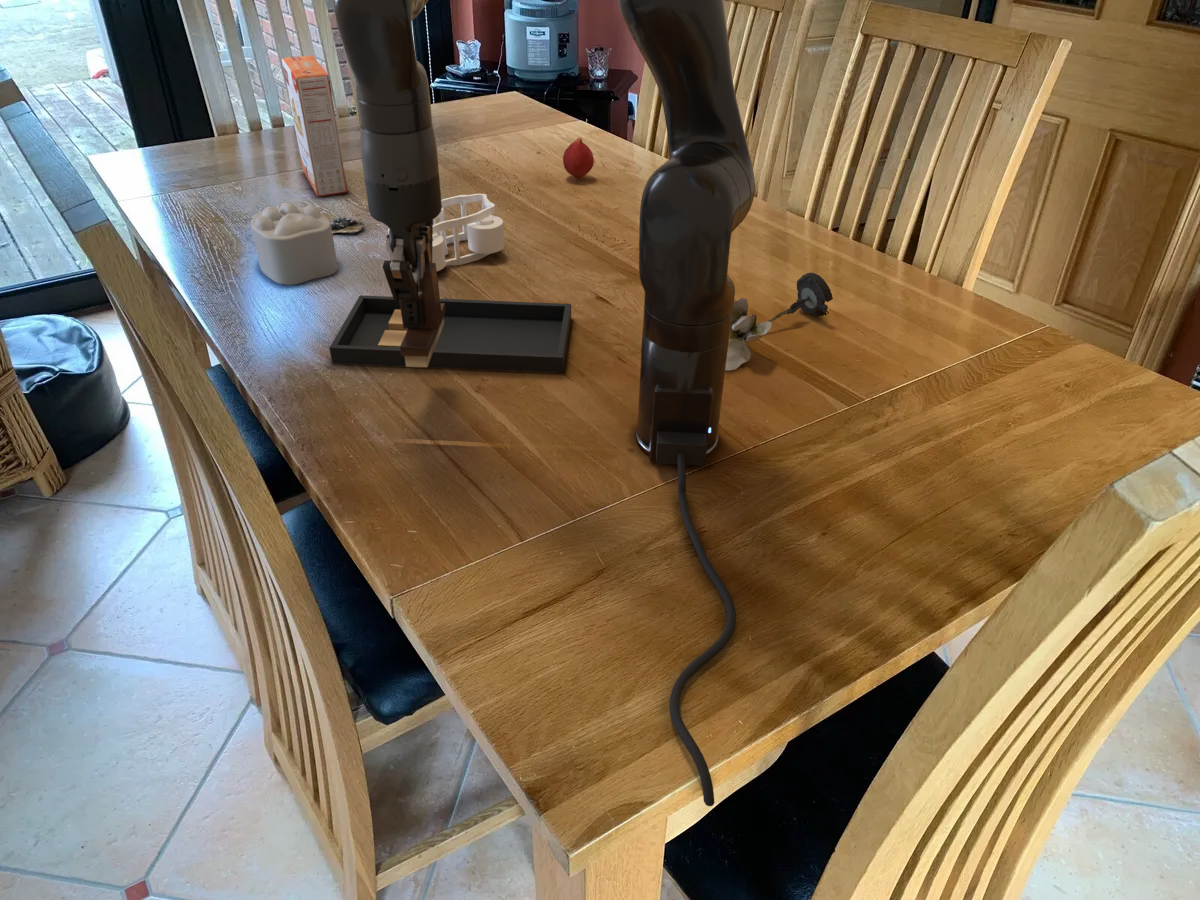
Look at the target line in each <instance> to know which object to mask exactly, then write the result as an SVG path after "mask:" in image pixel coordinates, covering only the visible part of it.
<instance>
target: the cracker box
mask: <svg viewBox="0 0 1200 900" xmlns="http://www.w3.org/2000/svg"><path fill="white" fill-rule="evenodd" d="M281 64H282V68H283V73H284V77H285V83H286V87H287V93H288V98H289V104H290V109H291V114H292V119H293V124H294V129H295V134H296V140H297V145H298V152H299V155H300V160H301V161H300V162H301V166H302V170H303V173H304V174H305V177H306V178H307V180H308V182H309V184H310V185H311V187H312V189H313V191H314V193H315V195H316V196H317V197H318V198H320V197H328V196H334V195H341V194H347V193H349V191H348V184H347V178H346V172H345V167H344V161H343V155H342V149H341V142H340V136H339V135H340V134H339V130H338V129H339V128H338V124H337V117H336V111H335V104H334V97H333V92H332V86H331V80H330V75H329V73H328V72H327V71H326V70H325V69H324V67H323V66H322V65H321V64H320V62H319V61H318V60H317V58H315V56H314V55H313V54H312V55H303V56H301V55H299V56H286V57H282V58H281Z"/></svg>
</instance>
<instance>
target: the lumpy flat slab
mask: <svg viewBox="0 0 1200 900" xmlns="http://www.w3.org/2000/svg"><path fill="white" fill-rule="evenodd" d="M330 223H331V229H332V234H336V233H347V234H355V233H358V232H359V231H362V230H363V228H364V227H366V224H365V223H364V221H363V218H352V217H351V218H350V217H341V216H340V217H337V218H335V219H333V220H332V221H330Z"/></svg>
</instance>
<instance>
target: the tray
mask: <svg viewBox="0 0 1200 900" xmlns="http://www.w3.org/2000/svg"><path fill="white" fill-rule="evenodd" d="M440 303H445V310H446V312H445V315H444V326H443V328H442V331H441V334H440V336H439V339H438V341H437V344H436V346H435V349H434V351H433V354H432V357H431V359H430V362H429V364H428V367H427V368H441V369H465V370H486V371H490V370H491V371H509V372H510V371H511V372H535V373H559V374H563V373H564V368H565V361H566V356H567V348H568V341H569V336H570V329H571V322H572V304H571V303H557V302H532V301H507V300H485V299H482V300H481V299H461V298H460V299H457V298H440ZM395 309H397V310H401V309H400V302H399V300H394V298H393V296H387V295H386V296H383V295H363V294H362V295H359V296H358V298H357V299H356V301H355V303H354V304H353V306H352V308H351V309H350V311H349V313H348V315H347V317H346V318H345V320H344V322H342V323H343V324H342V325H341V327H340V329H339V331H338V332H337V334H336V335H335V337H334V339H333V341H332V342H331V344H330V345H329V347H328V348H329V353H330V359H331V363H332V364H347V365H349V364H350V365H373V366H391V367H393V366H394V367H395V366H396V367H406V363H405V356H401V351H400V348H398V347H378V344H379V342H380V340H381V338H382V336H383V334H384V331H385V330H389V325H388V323H389V321H390V319H391V317H392V315H393V313H394V311H395Z"/></svg>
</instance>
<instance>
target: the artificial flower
mask: <svg viewBox="0 0 1200 900" xmlns="http://www.w3.org/2000/svg"><path fill="white" fill-rule="evenodd" d="M796 291H797V294H796V295H797V299H796V301H795V302H794V303H792V304H791V305H789V308H788V309H786V310H783V311H781V312H779V313H778V314H776V315H775V316H774V317H772V318H771V319H768V320H766V321H762V322H760V323H757V315H756V314H750V315H748V310H749V303H748V298H745V297H741V298H739V299H737V300H734V304H733V311H732V319H731V327H730V336H729V343H728V351H727V359H726V368H725V372H731V371H735V370H737V369H738V368H739V367H740V366H742V365H743V364H744V363H748V361H750V359H751V349H749V347H748V345H747V342H755V341H759V340H760V339H761V338H762V337H763V336H765V335H767V334H768V332H769V331H771V328H772V325H773V323H772V322H774V321H775V320H777V319H780V318H781V317H782V316H784V315H790V314H794V313H796V312H797V311H798V310H801V311H802V312H804V313H808V314H810V315H812V316H814V317H816V318H817V317H824V316H828V315H829V314H830V312H831V311H832V310H831V309H829V311H828V308H829V307H828V306H829V305H828V304H825V303H829V302H830V301H832V300H833V299H834V297H833V294H832V290H831V288H830V286H829V285H828V284H827V282H826V281H825V279H824V278H822V276H821V275H819V274H817V273H815V272H806V273H805V274H803V275H801V277H800V278H798V279H797V281H796Z"/></svg>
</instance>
